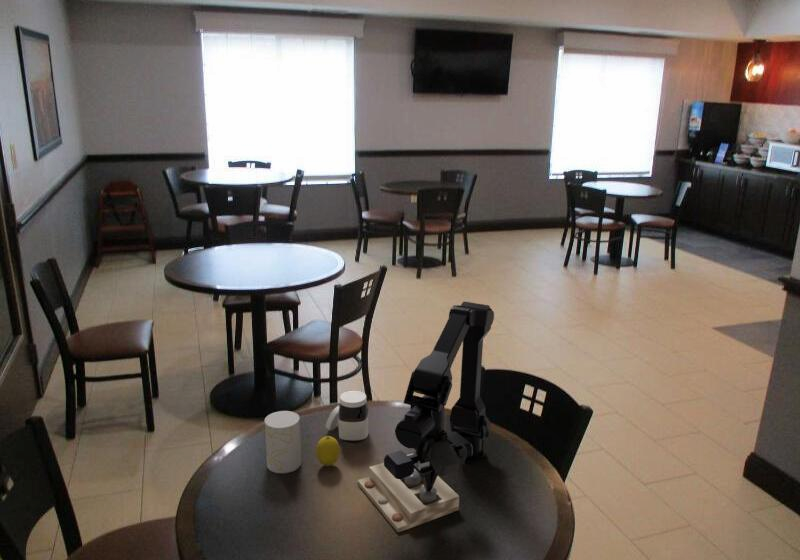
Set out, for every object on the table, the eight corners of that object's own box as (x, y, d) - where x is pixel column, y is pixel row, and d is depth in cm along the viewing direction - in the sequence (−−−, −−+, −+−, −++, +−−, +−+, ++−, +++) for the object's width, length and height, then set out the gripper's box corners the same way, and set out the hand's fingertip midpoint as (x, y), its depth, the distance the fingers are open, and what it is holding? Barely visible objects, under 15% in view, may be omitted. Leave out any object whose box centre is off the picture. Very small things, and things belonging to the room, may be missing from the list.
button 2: (430, 492, 134) (430, 483, 133) (439, 501, 131) (439, 492, 130) (416, 497, 132) (416, 488, 132) (425, 506, 129) (425, 497, 129)
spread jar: (367, 447, 156) (366, 406, 153) (322, 446, 157) (321, 405, 153) (369, 423, 168) (369, 384, 165) (328, 423, 168) (327, 384, 165)
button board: (413, 466, 148) (414, 453, 148) (458, 510, 133) (459, 496, 132) (357, 483, 141) (357, 470, 140) (397, 532, 125) (398, 518, 125)
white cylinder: (260, 468, 147) (257, 423, 144) (279, 451, 154) (276, 408, 151) (289, 476, 144) (287, 430, 141) (307, 458, 151) (305, 414, 148)
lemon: (336, 473, 145) (335, 443, 143) (313, 470, 146) (312, 440, 144) (342, 460, 150) (342, 431, 148) (321, 458, 151) (320, 429, 149)
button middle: (415, 477, 139) (415, 468, 139) (423, 485, 136) (423, 476, 136) (401, 481, 138) (401, 473, 137) (409, 490, 135) (409, 481, 134)
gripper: (410, 455, 115) (409, 526, 120) (490, 431, 124) (486, 497, 129) (382, 428, 125) (382, 495, 129) (458, 407, 134) (456, 470, 138)
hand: (428, 490), depth 131 cm, fingers closed
